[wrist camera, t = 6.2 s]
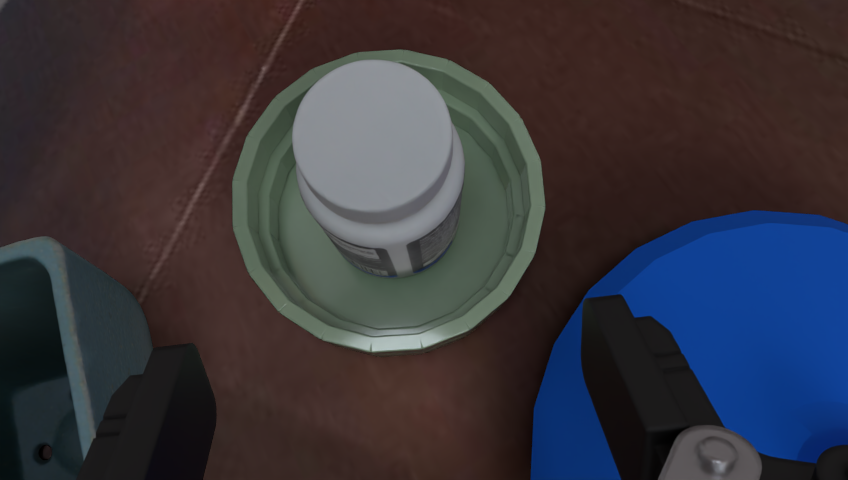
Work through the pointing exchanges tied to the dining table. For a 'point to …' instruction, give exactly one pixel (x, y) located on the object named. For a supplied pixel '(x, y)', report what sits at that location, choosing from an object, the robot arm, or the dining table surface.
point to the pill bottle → (380, 166)
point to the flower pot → (60, 355)
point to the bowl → (409, 296)
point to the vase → (722, 337)
